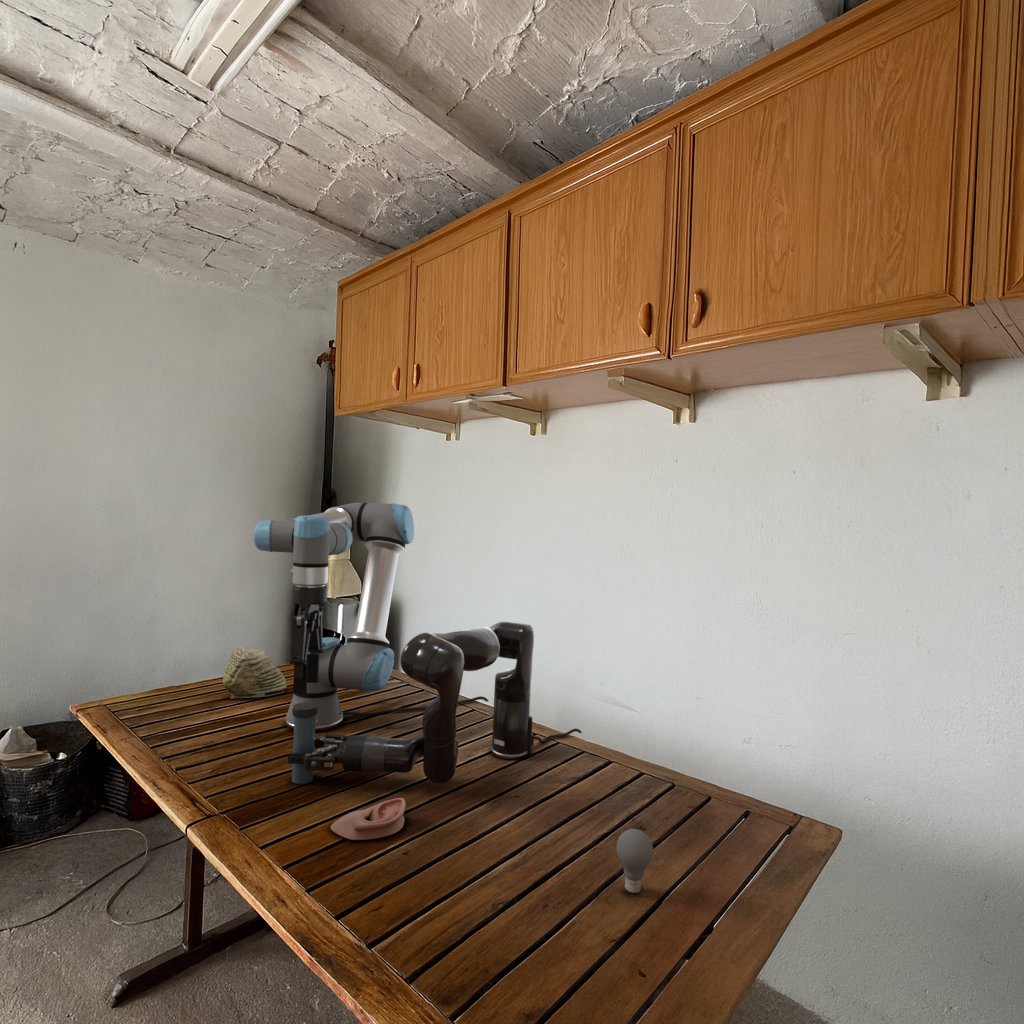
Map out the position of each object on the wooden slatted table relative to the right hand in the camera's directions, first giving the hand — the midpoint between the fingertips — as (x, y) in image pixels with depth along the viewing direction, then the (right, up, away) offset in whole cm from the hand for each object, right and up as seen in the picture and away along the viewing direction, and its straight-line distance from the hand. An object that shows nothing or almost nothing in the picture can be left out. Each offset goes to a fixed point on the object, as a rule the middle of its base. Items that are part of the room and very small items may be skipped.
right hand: (295, 750), depth 141 cm
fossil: (-32, -4, +57) cm, 65 cm away
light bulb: (+68, -10, -36) cm, 78 cm away
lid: (+2, +10, 0) cm, 10 cm away
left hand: (+2, +14, 0) cm, 14 cm away
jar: (+1, -7, 0) cm, 7 cm away
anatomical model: (+20, -8, -19) cm, 29 cm away
